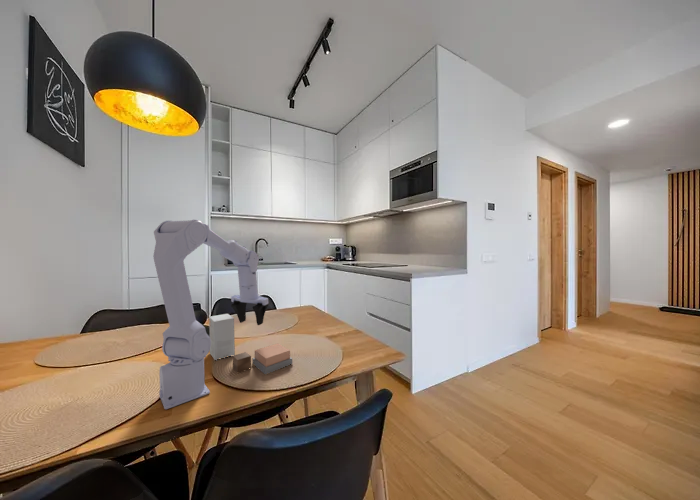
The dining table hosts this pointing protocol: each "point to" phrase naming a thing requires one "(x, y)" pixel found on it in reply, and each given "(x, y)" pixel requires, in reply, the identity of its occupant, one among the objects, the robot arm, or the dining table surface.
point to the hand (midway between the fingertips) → (251, 322)
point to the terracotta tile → (272, 354)
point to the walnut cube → (241, 362)
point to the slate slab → (271, 367)
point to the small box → (222, 336)
